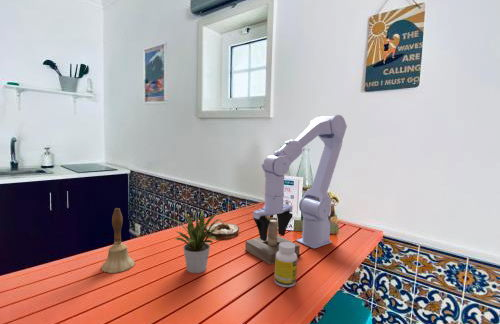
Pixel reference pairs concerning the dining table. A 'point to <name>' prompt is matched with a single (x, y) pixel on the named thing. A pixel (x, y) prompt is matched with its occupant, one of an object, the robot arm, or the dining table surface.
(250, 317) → the dining table surface
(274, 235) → the beech peg
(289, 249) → the supplement bottle
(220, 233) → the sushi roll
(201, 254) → the house plant
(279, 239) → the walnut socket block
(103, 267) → the hand bell
